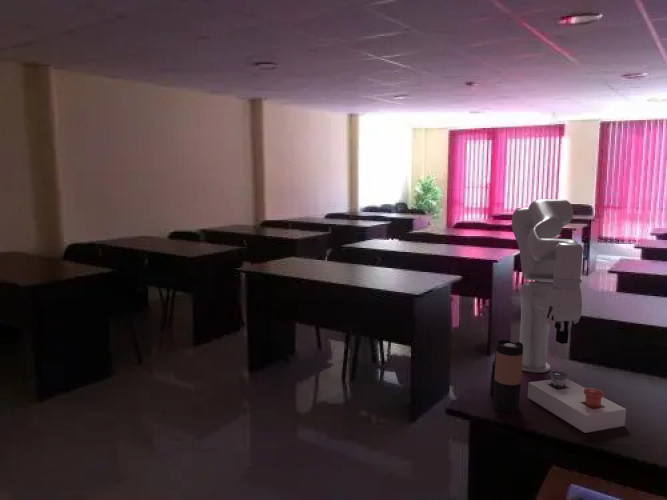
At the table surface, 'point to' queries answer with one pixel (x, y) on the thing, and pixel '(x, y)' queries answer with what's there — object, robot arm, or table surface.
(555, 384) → the metal button
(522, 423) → the table surface
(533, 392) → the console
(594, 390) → the red button
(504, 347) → the travel mug
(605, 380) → the table surface
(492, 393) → the two-way radio
